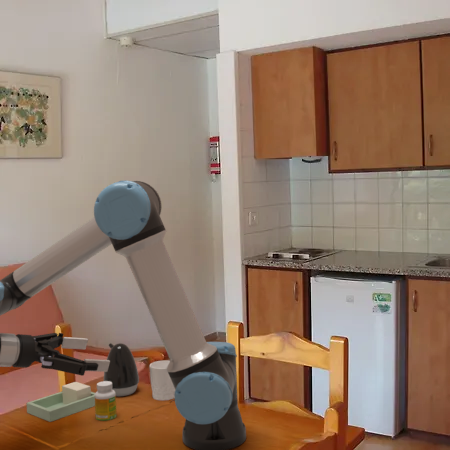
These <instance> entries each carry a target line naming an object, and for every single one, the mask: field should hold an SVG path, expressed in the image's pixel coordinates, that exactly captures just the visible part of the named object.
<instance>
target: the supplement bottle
mask: <svg viewBox="0 0 450 450" xmlns="http://www.w3.org/2000/svg"><path fill="white" fill-rule="evenodd" d="M96 390H97V391H96V392H94V393H95V406H94V408H95V411H94V413H95V420H97V421H100V422H101V421H103V422H107V421H112V420H115V418H117V396H116V394H115V391H114V390H112V382H110V381H99V382H97V383H96Z"/></svg>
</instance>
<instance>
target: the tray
mask: <svg viewBox="0 0 450 450" xmlns="http://www.w3.org/2000/svg"><path fill="white" fill-rule="evenodd" d="M95 393H96V392H94V391H91V396H89V397H87V398H84V399H81V400H78V401H75V402H72V403H69V404H63V395H62V391H60V392H56V393H53V394H50V395H46V396H43V397H40V398H38V399H37V398H36V399H35V400H31V401H28V402H26V413H27V414H29V415H31V416H34V417H36V418H38V419H42V420H43V421H47V422H50V423H51V422H54V421H57V420H59V419H62V418H65V417H68V416H71V415H75V414H76V413H80V412H83V411H85V410H88V409H91V408H93V407H94V408H95Z"/></svg>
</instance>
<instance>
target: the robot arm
mask: <svg viewBox="0 0 450 450" xmlns="http://www.w3.org/2000/svg"><path fill="white" fill-rule="evenodd" d="M161 214H162V200H161V197H160V195H159V193H158V191H157V190H156V189H155V188H154V187H153V186H152V185H150V184H149V183H146V182H144V181H140V180H119V181H116V182H113V183H110V184H109V185H107V186H106V187H105V188H103V189H102V190H101V191H100V192H99V194H98V196H97V197H96V199H95V202H94V206H93V217H92V218H91V219H89V220H88V221H86V222H85V223H83V224H82V225H80V226H78V228H76V229H74V230H73V231H72V232H70V233H68V234H67V235H65V236H64V237H62V238H60V239H59V240H58V241H57V242H55V243H54V244H52V245H51V246H49V247H47V248H45V250H43V251H42V252H40V253H38V254H37V255H36V256H34V257H33V258H31V259H29V260H28V261H26V262H25V263H24V264H23V265H21V266H20V267H18V268H16V269H15V270H14V271H11V272H10V273H9V274H7V275H6V276H5V277H3V278H1V279H0V316H2V315H4V314H6V313H8V312H11V311H12V310H16V309H17V308H19V307H21V306H23V305H24V304H25V303H26V302H27V301H29V299H31V298H32V297H34V296H35V295H37V294H38V293H40V292H41V291H43V290H44V289H46V288H47V287H49V286H50V285H52V284H53V283H55V282H57V281H58V280H59V279H61V278H63V277H64V276H65V275H67V274H68V273H70V272H72V271H73V270H74V269H76V268H78V267H79V266H81V265H83V263H85V262H87V261H88V260H90V259H91V258H93V257H94V256H96V255H97V254H98V253H101V252H102V251H103V250H105V249H106V248H108V247H109V246H111V245H112V247H113V250H114V252H115V253H116V254H119V255H120V256H123V257H125V258H126V259H125V260H126V261H127V263H128V266H129V269H130V270H131V273H132V275H133V277H134V279H135V282H136V284H137V287H138V289H139V291H140V294H141V296H142V298H143V301H144V302H145V305H146V308H147V310H148V312H149V313H150V314H149V315H150V316H151V319H152V322H153V323H154V326H155V328H156V330H157V333H158V335H159V337H160V339H161V342H162V344H163V346H164V349H165V351H166V353H167V356H168V358H169V361H170V362H169V364H168V367H167V371H168V374H169V376H170V378H171V381H172V383H173V385H174V388H175V393H174V396H175V398H174V403H175V407H176V409H177V411H178V412H179V414H180V415H181V416H182V417H183V418H184V419H185V421H184V426H183V428H182V442H183V444H184V445H185V446H186V447H188V448H189V449H193V450H231V449H234V448H237V447H239V446H241V445H242V444H243V443H244V442H245V441H246V439H247V430H246V429H247V427H246V425H245V423H244V422H243V418H242V414H241V412H240V409H239V406H238V382H237V380H238V378H237V377H238V376H237V357H238V356H237V355H238V354H237V353H236V347H235V344H233V343H231V342H225V341H207V340H206V339H205V336H204V334H203V332H202V329H201V326H200V324H199V322H198V320H197V317H196V314H195V313H194V312H195V311H194V310H193V308H192V305H191V303H190V301H189V298H188V296H187V294H186V292H185V289H184V287H183V284H182V283H181V280H180V278H179V277H180V276H179V275H178V273H177V271H176V268H175V266H174V264H173V262H172V259H171V257H170V255H169V252H168V250H167V248H166V245H165V243H164V238H165V235H166V232H167V230H166V227H165V224H164V223H163V221H162V218H161ZM88 341H89V339H88V338H84V337H68V336H64V333H62V332H59V333H57V332H51V333H44V334H39V335H32V334H20V333H18V334H15V333H9V332H5V333H3V332H0V367H2V368H4V367H5V368H8V367H9V368H11V367H13V368H22V369H24V368H25V369H26V368H29V367H30V366H32V364H33V363H35V362H37V363H39V364H41V367H40V368H41V369H46V370H55V371H59V372H64V373H69V374H72V375H73V374H74V375H77V376H84V375H85V373H86V372H99V373H101V372H102V373H104V372H107V371H108V367H109V364H110V361H109V360H107V359H93V358H92V359H91V358H84V360H82V359H79V358H75V357H72V356H70V355H67V354H63V353H61V352H60V351H59V350H58V349H57V348H59V347H61V349H70V350H87V349H86V348H87V345H88Z"/></svg>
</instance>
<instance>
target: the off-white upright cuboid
mask: <svg viewBox="0 0 450 450" xmlns="http://www.w3.org/2000/svg"><path fill="white" fill-rule="evenodd" d="M61 392H62V395H63V404H69V403H72V402H75V401H78V400H81V399H84V398H87V397H89V396H91V392H92V390H91V386H90V385H88V384H84V383H81V382H78V381H73V382H71V383H68V384H63V385H61Z"/></svg>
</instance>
